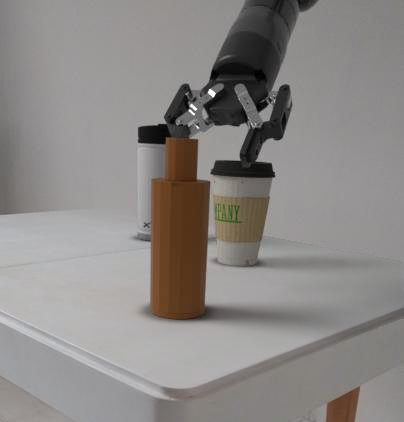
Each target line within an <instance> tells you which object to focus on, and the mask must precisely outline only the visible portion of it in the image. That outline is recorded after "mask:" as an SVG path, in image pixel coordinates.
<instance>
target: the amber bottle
mask: <svg viewBox="0 0 404 422" xmlns="http://www.w3.org/2000/svg"><path fill="white" fill-rule="evenodd" d="M198 161H199V138H190V139H186V138H166V157H165V178H153V179H151V241H150V276H149V277H150V279H149V281H150V283H149V285H150V287H149V288H150V289H149V290H150V292H149V293H150V294H149V305H150V312H151V314H153V315H155V316H157V317H160V318H164V319H171V320H189V319H195V318H199V317H201V316H203V315H204V314H205V308H206V307H205V306H206V290H207V289H206V288H207V270H208V269H207V267H208V249H209V246H208V243H209V226H210V225H209V223H210V205H211V204H210V201H211V181H210V180H206V179H201V178H200V179H199V178H198V166H199V165H198Z"/></svg>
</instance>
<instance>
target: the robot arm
mask: <svg viewBox="0 0 404 422" xmlns="http://www.w3.org/2000/svg"><path fill="white" fill-rule="evenodd" d="M319 1H320V0H244V2H243V5H242V6H241V9H240V11H239V13H238V15H237V18H236V19H235V21H234V22H233V23H232V25H231V26H230V28H229V30H228V32H227V34H226V37H225V39H224V41H223V43H222V45H221V48H220V50H219V52H218V54H217V57H216V59H215V60H214V63H213V65H212V67H211V71H210V75H209V80H208V82H207V83H206V85H204V86H203V87H202V88H201V89H191V85H190V84H189V83H187V82H185V83H182V84H181V85H180V86H179V88H178V89H177V92H176V93H175V95H174V97H173V99H172V101H171V103H170V105H168V108H167V110H166V112H165V113H164V115H163V120H164V121H165V124H167V126H168V128H169V132H170V134H171V135H172V137H171V138H186V139H192V138H193V137H194V136H195V135H197V134H198V133H200V132H201V133H205V132H207V131H208V130H210V129H211V128H212V127H214V126H215V127H223V126H231V127H237V128H239V127H241V125H243V124H245V126H246V127H247V133H246V135H245V137H244V139H243V142H242V145H241V147H240V150H239V161H241V164H242V167H250V165H251V163H254V162H255V161H256V162H257V160H258V157H259V155H260V152H261V150H262V147H263V146H264V144H265V143H266V142H267V141H268V140H271V139H273V140H274V141H275V142H276V141H277V142H278V141H280V140H283V138H284V136H285V132H286V129H287V126H288V122H289V119H290V116H291V112H292V110H293V100H292V92H291V86H290V84H287V83H285V84H282V85H280V86H279V88H278V90H273V88H274V85H275V83H276V81H277V78H278V75H279V73H280V71H281V68H282V65H283V63H284V61H285V57H286V56H287V55H286V53H287V50H288V45H289V42H290V40H291V37H292V35H293V32H294V30H295V27H296V26H297V22H298V19H299V14H302V13H305V12H307V11H310V10H311V9H313V7H315V6H316V5H317V4H318V2H319ZM269 105H271V108H272V110H271V114H270V117H269V120H266V121H263V119H262V117H261V115H260V113H262V112H263V111H264V110H265V109H267V108H268V107H269ZM203 110H204V111H205V113H206V115H207V117H206V118H205V119H204V115H203ZM192 121H194V122H193V123H192V124H190V125H188V124H189V123H191V122H192Z"/></svg>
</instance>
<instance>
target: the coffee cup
mask: <svg viewBox="0 0 404 422" xmlns="http://www.w3.org/2000/svg"><path fill="white" fill-rule="evenodd" d="M273 167H274V166H273V162H268V161H267V162H266V161H257V160H256V161H255V162H254V163H251V165H250V167H242V164H241V160H234V159H231V160H230V159H229V160H228V159H215V161H214V164H213V168H211V169H210V172H209V173H210V175H212V183H213V193H212V202H213V203H212V204H213V218H214V233H215V234H214V235H215V239H216V255H217V262H218V263H220V264H223V265H227V266H236V267H247V266H253V265H257V262H258V258H259V252H260V247H261V242H262V241H263V236H264V231H265V225H266V221H267V216H268V211H269V205H270V201H271V200H270V199H271V196H270V193H271V188H272V183H273V179H274V178H275V179H276V172H275V171H274V168H273Z"/></svg>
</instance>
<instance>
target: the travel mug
mask: <svg viewBox="0 0 404 422" xmlns="http://www.w3.org/2000/svg"><path fill="white" fill-rule="evenodd" d="M171 137H172V135H171V134H170V132H169V128H168V126H167V123H158V124H154V125H153V124H151V125H150V124H149V125H141V126H138V127H137V138H138V139H137V238H138V239H139V240H143V241H150V242H151V179H153V178H165V157H166V138H171Z"/></svg>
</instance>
